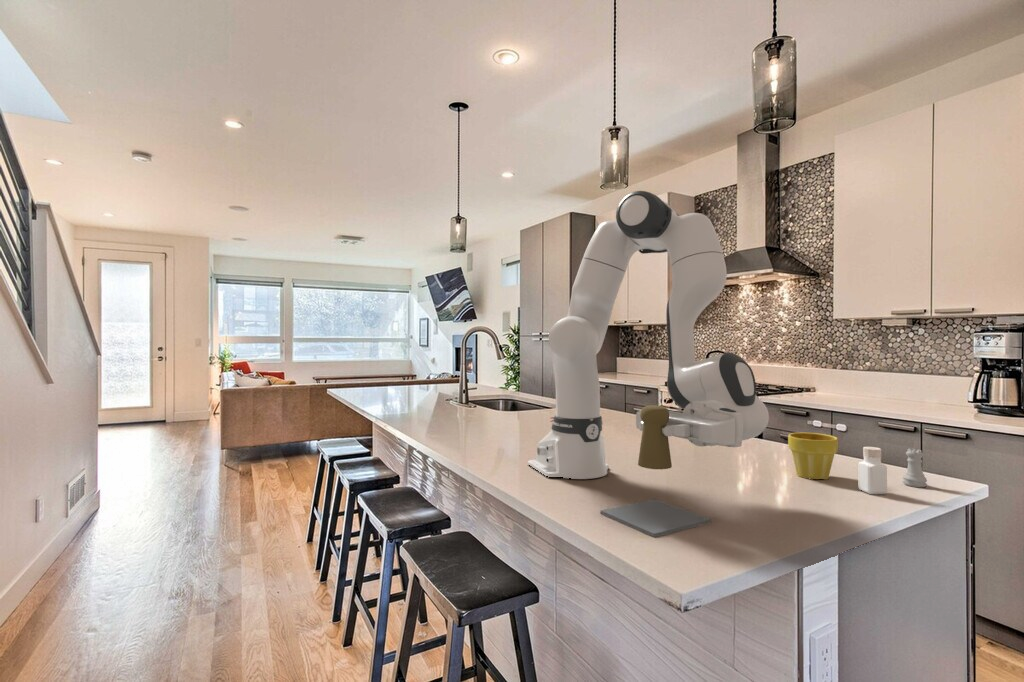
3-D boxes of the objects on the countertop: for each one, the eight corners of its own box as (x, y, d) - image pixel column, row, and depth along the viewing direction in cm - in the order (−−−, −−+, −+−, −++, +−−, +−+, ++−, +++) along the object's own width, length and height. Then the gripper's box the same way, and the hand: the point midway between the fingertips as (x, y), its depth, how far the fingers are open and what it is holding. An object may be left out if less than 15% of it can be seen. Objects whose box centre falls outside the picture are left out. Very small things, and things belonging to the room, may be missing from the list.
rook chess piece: (900, 485, 116) (899, 449, 116) (905, 481, 119) (904, 446, 119) (925, 489, 113) (925, 452, 113) (929, 485, 116) (929, 449, 116)
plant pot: (838, 484, 117) (838, 441, 117) (786, 478, 122) (786, 437, 122) (838, 474, 126) (837, 434, 126) (789, 469, 131) (789, 430, 131)
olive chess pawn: (633, 461, 98) (633, 404, 98) (663, 461, 99) (664, 403, 99) (644, 469, 92) (645, 408, 92) (677, 468, 93) (677, 407, 93)
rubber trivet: (600, 513, 98) (600, 510, 98) (654, 501, 105) (654, 498, 105) (654, 537, 86) (654, 533, 86) (711, 522, 93) (711, 519, 93)
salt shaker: (888, 494, 109) (888, 449, 109) (869, 495, 109) (869, 450, 109) (875, 489, 113) (874, 446, 113) (857, 489, 113) (856, 446, 113)
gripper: (664, 401, 111) (614, 405, 104) (749, 413, 93) (696, 419, 86) (664, 430, 111) (614, 436, 104) (749, 448, 93) (696, 456, 86)
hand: (652, 428), depth 95 cm, fingers closed on olive chess pawn, 4 cm apart
